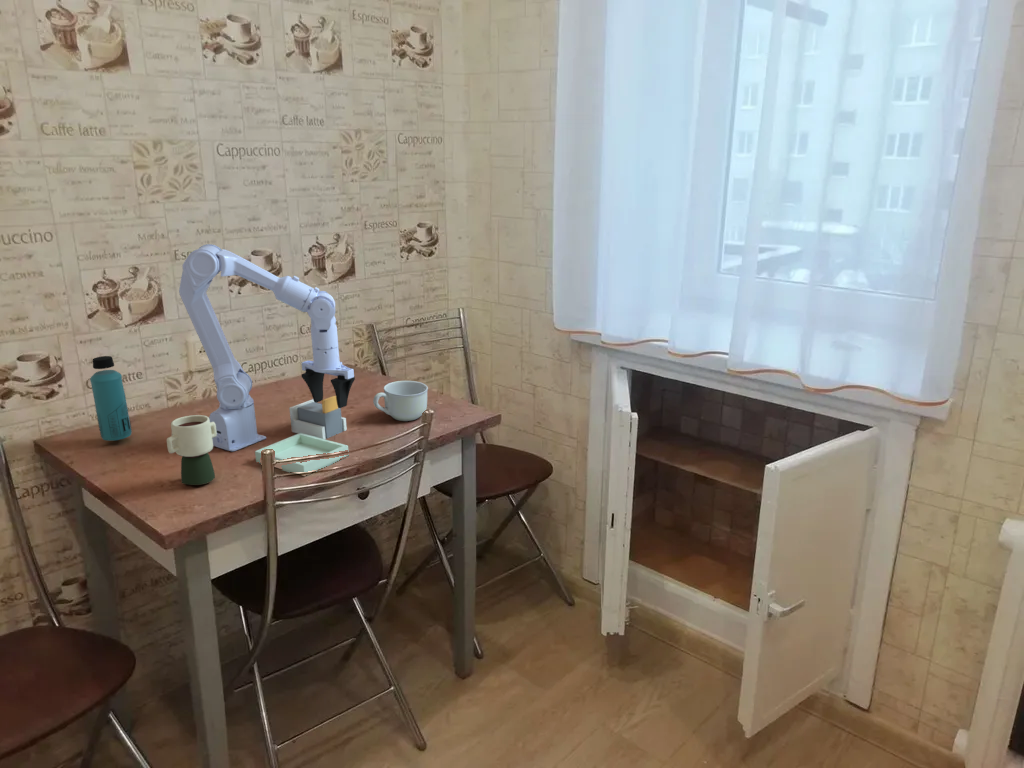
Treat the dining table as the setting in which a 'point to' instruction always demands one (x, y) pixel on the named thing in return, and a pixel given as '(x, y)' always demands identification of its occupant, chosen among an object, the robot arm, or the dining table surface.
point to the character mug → (193, 447)
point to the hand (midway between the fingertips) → (330, 404)
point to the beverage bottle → (110, 401)
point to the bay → (307, 427)
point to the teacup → (403, 400)
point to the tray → (304, 452)
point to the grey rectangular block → (323, 415)
